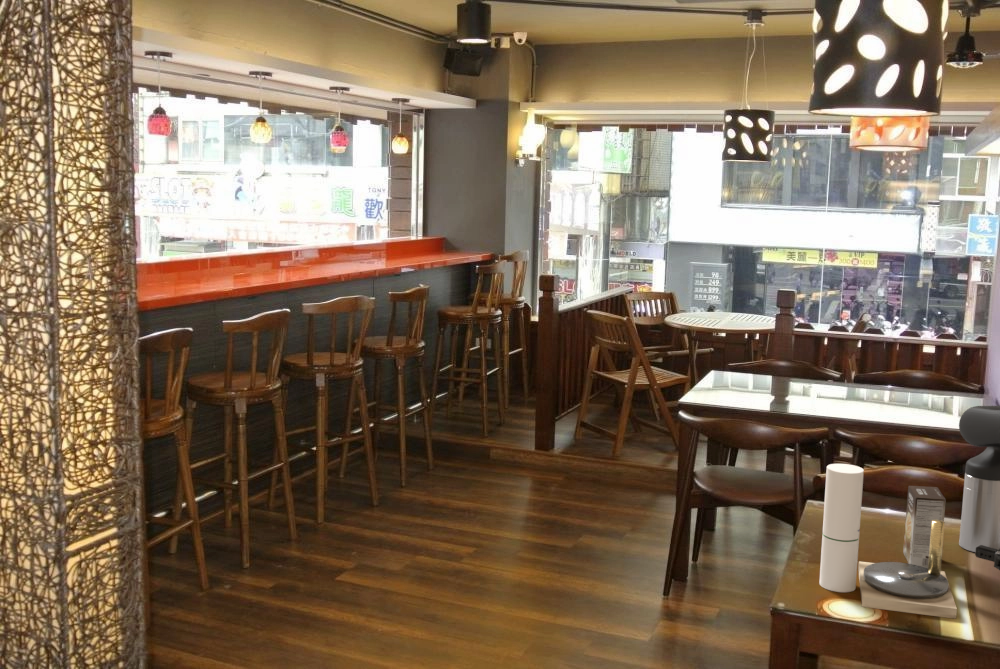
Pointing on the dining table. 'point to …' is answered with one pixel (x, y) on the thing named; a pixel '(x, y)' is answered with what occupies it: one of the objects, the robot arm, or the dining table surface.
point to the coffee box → (921, 522)
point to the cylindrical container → (841, 527)
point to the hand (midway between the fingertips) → (977, 550)
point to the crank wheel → (912, 572)
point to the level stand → (906, 600)
